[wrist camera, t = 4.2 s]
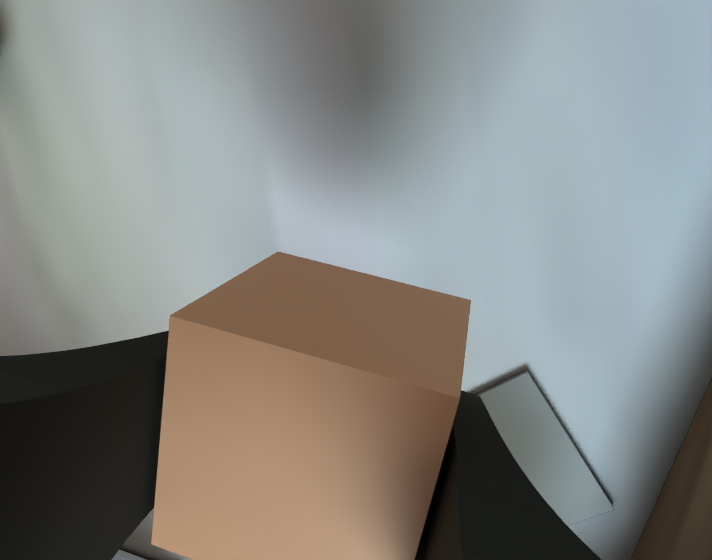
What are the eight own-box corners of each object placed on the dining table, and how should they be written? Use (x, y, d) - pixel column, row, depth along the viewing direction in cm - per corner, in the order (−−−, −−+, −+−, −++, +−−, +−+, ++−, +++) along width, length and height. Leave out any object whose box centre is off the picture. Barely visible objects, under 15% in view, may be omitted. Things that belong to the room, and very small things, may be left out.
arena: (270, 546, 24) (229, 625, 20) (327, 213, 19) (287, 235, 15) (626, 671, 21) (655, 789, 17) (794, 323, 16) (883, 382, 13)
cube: (253, 417, 14) (150, 544, 10) (278, 251, 12) (170, 315, 8) (424, 470, 13) (394, 632, 9) (471, 300, 12) (460, 397, 8)
